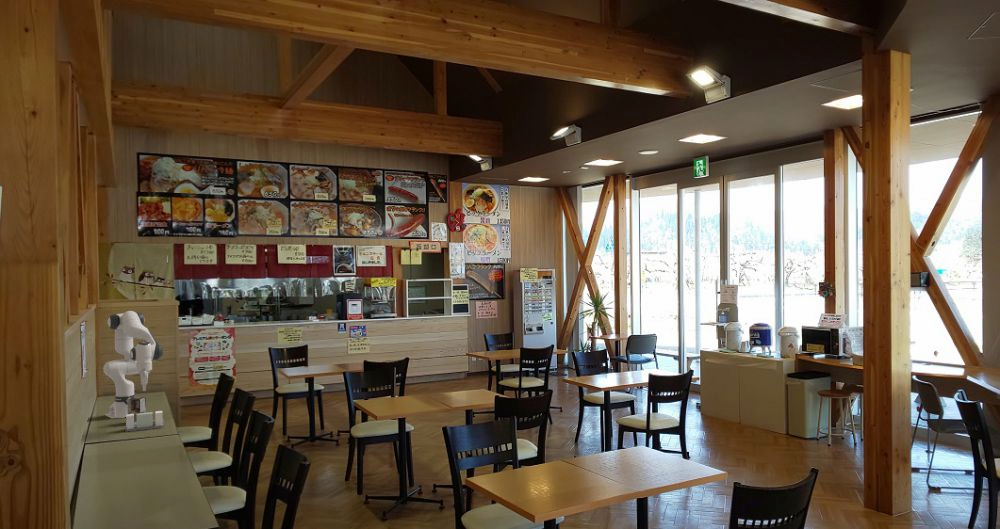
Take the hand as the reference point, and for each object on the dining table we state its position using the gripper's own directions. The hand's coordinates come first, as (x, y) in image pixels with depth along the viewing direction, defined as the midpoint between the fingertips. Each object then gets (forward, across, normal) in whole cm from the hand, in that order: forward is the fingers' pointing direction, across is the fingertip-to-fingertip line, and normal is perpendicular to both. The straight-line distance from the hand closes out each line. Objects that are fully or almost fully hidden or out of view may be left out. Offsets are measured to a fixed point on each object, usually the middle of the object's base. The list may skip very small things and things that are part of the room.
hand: (144, 389), depth 422 cm
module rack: (+25, 0, 0) cm, 25 cm away
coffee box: (+25, +22, +5) cm, 33 cm away
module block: (+23, 0, 0) cm, 23 cm away
